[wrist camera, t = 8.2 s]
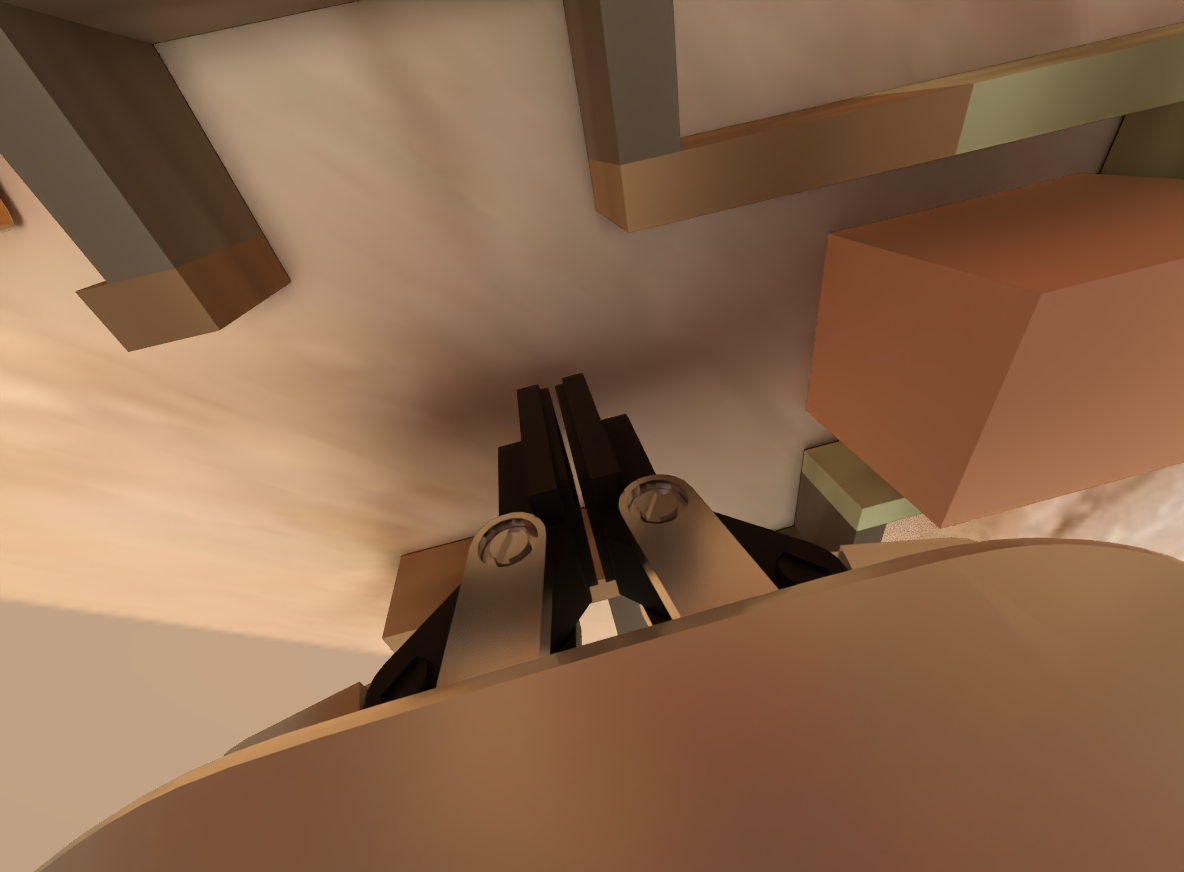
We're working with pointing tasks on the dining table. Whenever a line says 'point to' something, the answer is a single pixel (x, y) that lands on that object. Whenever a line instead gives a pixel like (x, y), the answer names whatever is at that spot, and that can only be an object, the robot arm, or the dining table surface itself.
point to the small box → (5, 218)
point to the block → (1008, 343)
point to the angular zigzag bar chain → (616, 159)
